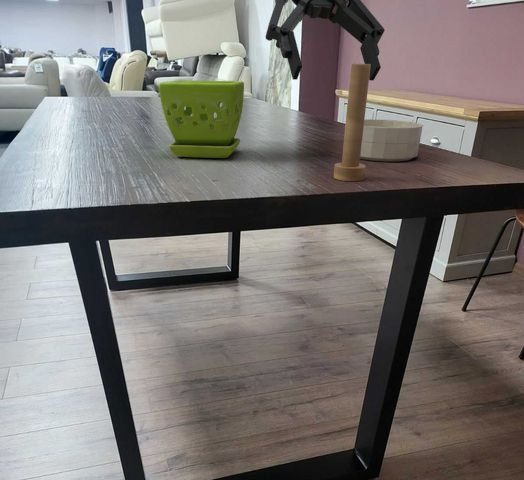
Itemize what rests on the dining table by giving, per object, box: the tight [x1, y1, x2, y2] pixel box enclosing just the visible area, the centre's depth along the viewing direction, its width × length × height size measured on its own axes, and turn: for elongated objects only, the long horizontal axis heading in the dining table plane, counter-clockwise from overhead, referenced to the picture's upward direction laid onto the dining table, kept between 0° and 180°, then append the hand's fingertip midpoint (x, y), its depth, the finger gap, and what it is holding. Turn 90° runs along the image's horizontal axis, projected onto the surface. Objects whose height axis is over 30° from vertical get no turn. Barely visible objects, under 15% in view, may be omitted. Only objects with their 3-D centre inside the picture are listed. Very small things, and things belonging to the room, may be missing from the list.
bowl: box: [360, 118, 424, 162], centre depth 97 cm, size 14×14×6 cm
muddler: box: [333, 63, 371, 182], centre depth 75 cm, size 5×5×16 cm
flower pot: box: [158, 80, 245, 159], centre depth 93 cm, size 14×14×13 cm
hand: (337, 73), depth 78 cm, fingers open, 13 cm apart
